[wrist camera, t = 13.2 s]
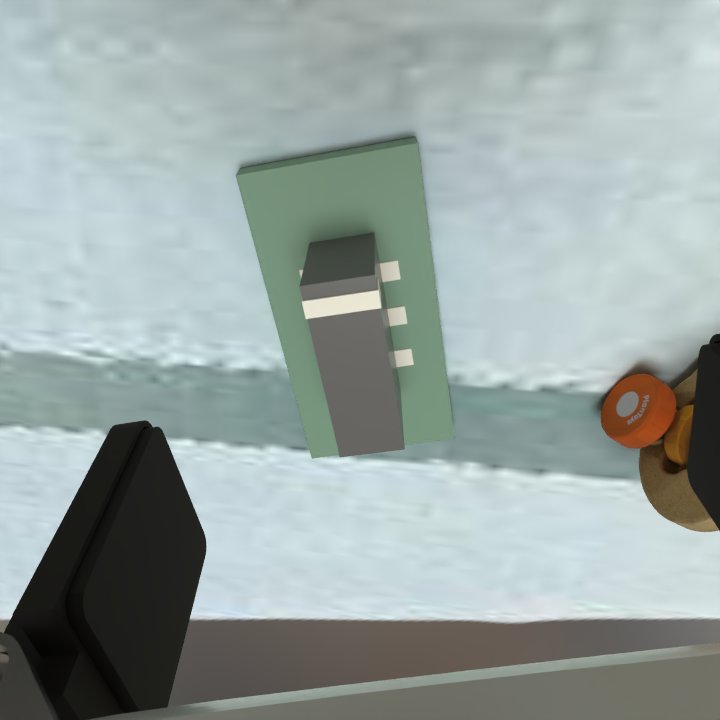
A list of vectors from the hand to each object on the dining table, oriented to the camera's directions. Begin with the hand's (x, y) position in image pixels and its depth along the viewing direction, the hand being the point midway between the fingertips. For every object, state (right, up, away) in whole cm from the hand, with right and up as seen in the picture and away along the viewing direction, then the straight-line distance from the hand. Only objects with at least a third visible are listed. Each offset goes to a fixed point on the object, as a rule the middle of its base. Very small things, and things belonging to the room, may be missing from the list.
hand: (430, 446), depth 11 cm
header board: (-1, +5, +30) cm, 31 cm away
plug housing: (-1, +4, +29) cm, 29 cm away
